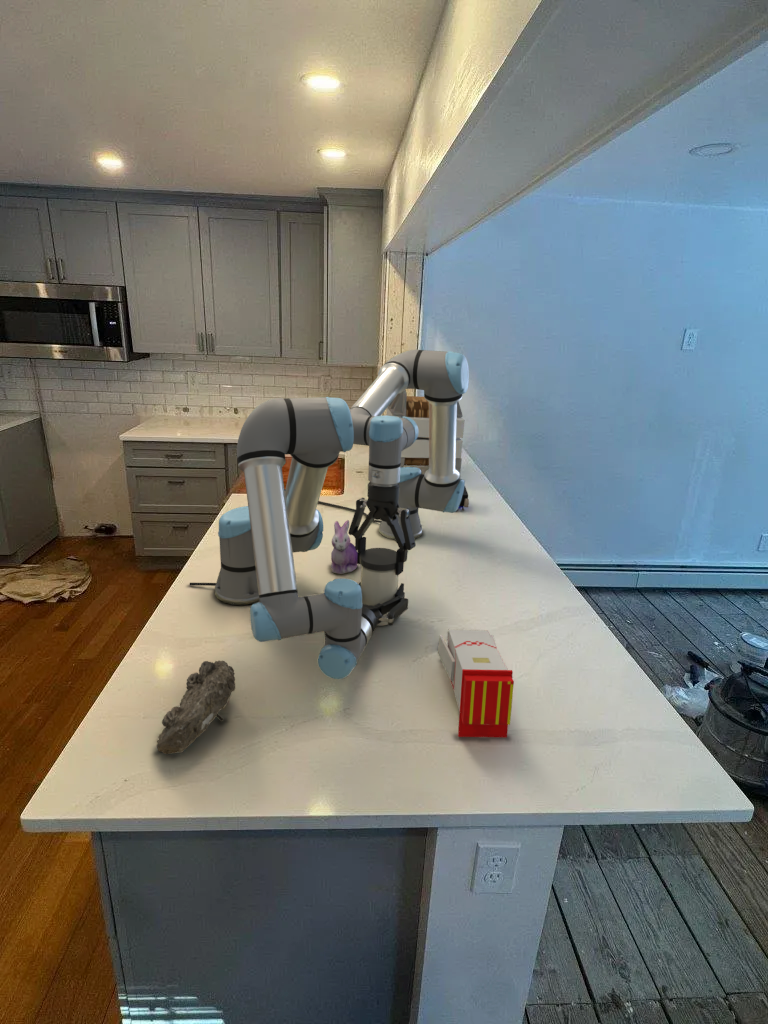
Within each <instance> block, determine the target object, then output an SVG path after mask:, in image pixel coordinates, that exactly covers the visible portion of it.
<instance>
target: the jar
mask: <svg viewBox="0 0 768 1024" xmlns="http://www.w3.org/2000/svg"><path fill="white" fill-rule="evenodd" d="M395 572H396V569H394V570H390V571H374V570H370V569H367V568H365V567H363V566H362V565H361V564H360V582H361V586H360V587H361V591H362V604H366V605H372V606H374V605H376V604H378V603H380V604H382V603H384V602H386V601H389V600H391V599H393V598H395V594H396V592H397V590H398V588H399V575H395ZM385 615H386V614H385ZM385 615H383V616H385ZM387 625H388V622H384V621H382V622H381V623H379V624H378V625H377V627H378V626H387Z"/></svg>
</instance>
